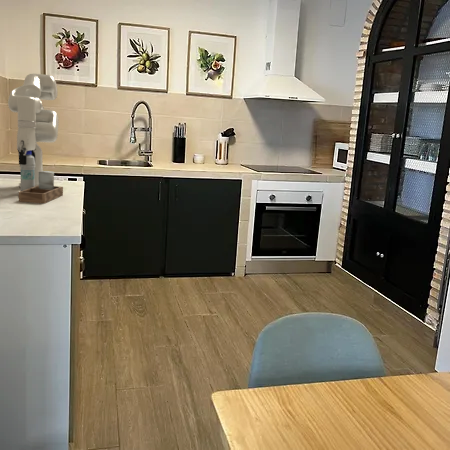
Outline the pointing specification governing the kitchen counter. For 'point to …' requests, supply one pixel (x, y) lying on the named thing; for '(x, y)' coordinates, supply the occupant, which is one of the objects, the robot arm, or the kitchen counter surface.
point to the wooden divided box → (42, 190)
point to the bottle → (27, 173)
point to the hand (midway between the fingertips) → (27, 163)
